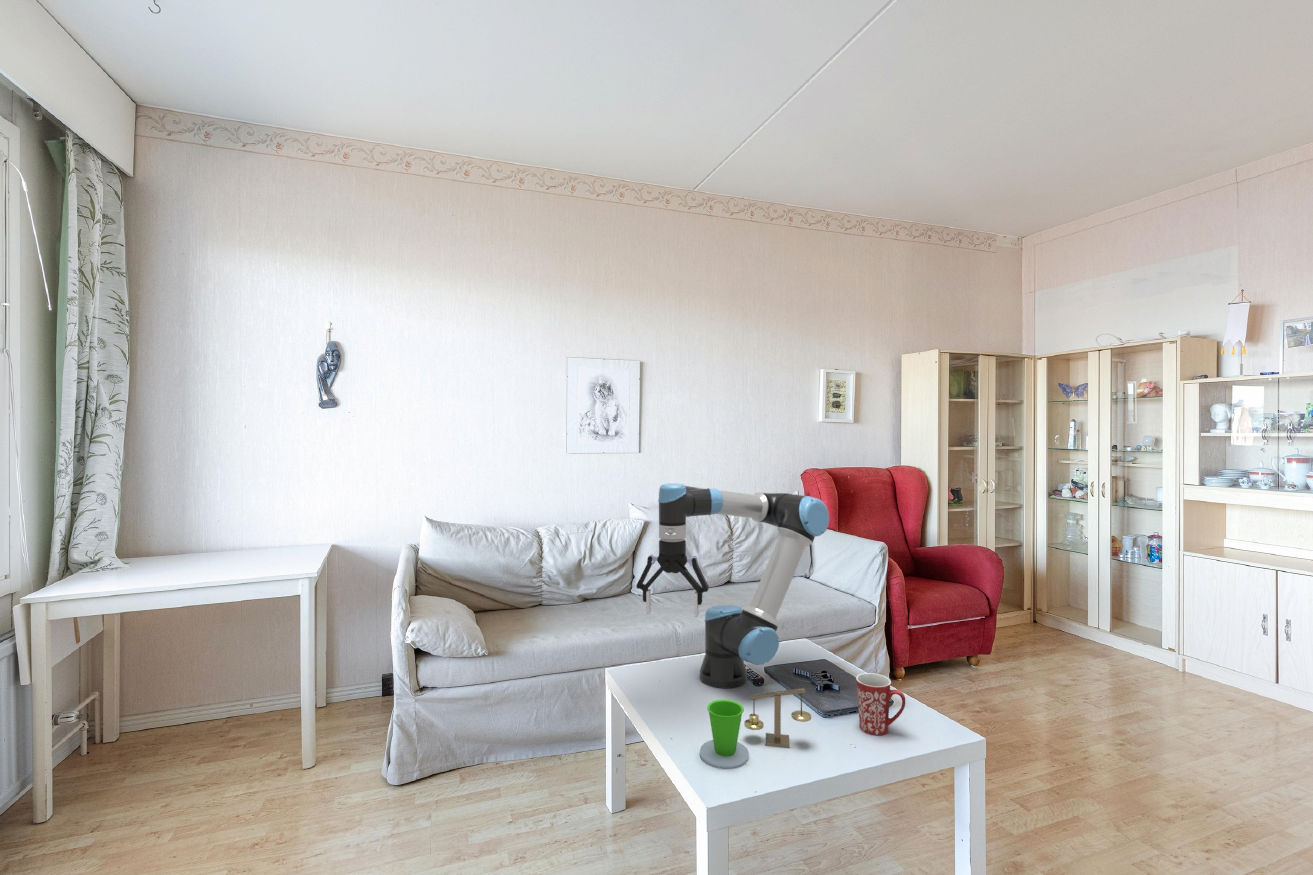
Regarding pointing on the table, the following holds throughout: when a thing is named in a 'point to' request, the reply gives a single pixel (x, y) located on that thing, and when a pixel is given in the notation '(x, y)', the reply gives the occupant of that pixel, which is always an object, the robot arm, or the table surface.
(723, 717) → the cup
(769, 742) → the balance
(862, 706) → the mug
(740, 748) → the dish
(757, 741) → the table surface
